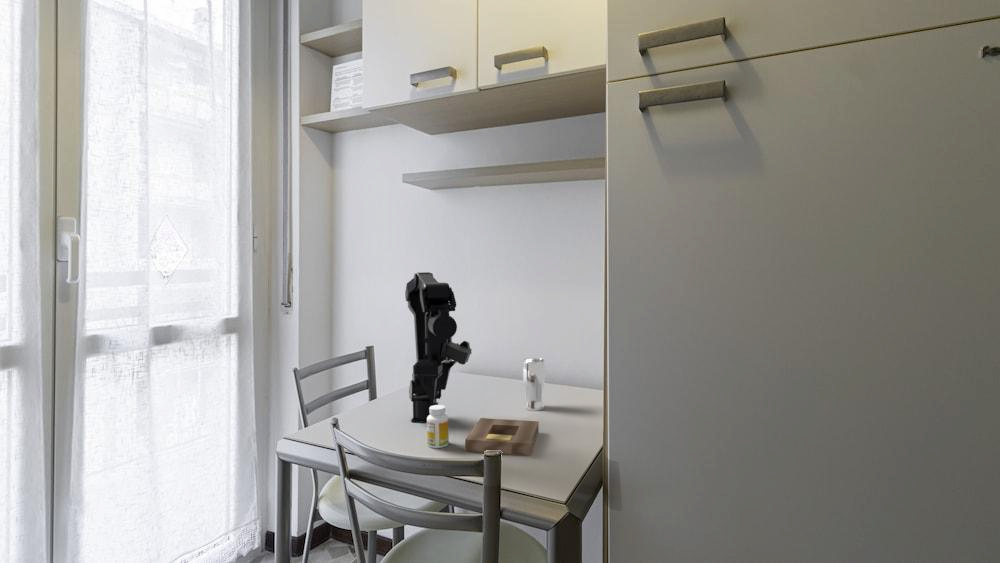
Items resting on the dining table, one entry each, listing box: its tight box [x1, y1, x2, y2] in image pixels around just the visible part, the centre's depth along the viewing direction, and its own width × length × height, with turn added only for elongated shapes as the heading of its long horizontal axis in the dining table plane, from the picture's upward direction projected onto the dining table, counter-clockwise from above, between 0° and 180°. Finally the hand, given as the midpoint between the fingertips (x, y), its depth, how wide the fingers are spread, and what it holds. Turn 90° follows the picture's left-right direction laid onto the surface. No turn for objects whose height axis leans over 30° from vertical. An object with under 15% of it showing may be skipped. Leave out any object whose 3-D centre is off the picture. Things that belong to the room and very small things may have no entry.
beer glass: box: [522, 357, 546, 412], centre depth 157 cm, size 7×7×15 cm
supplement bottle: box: [426, 404, 450, 449], centre depth 127 cm, size 5×5×10 cm
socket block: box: [464, 417, 540, 457], centre depth 129 cm, size 16×16×3 cm
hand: (437, 394), depth 127 cm, fingers open, 9 cm apart
